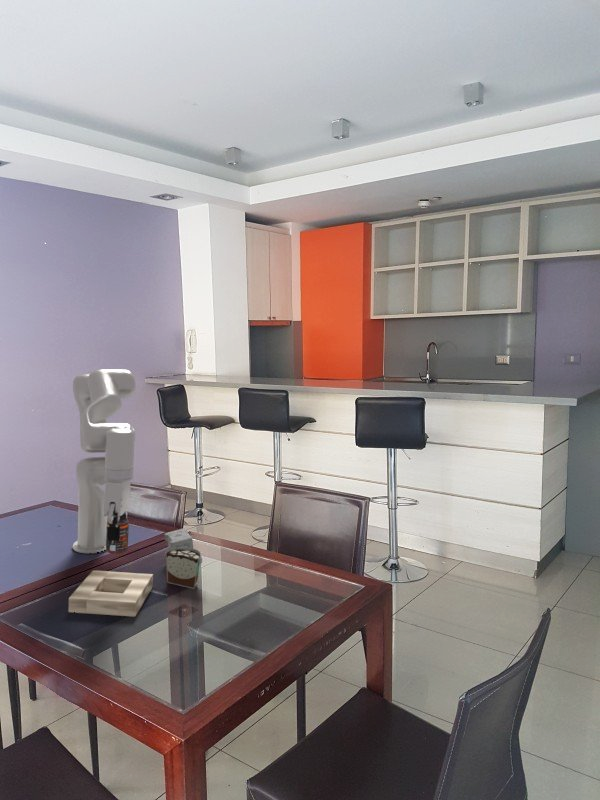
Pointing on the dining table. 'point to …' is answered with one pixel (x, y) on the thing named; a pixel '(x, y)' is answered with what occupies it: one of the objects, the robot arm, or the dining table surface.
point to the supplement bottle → (122, 544)
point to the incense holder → (178, 539)
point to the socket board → (108, 603)
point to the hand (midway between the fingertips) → (117, 535)
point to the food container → (183, 566)
